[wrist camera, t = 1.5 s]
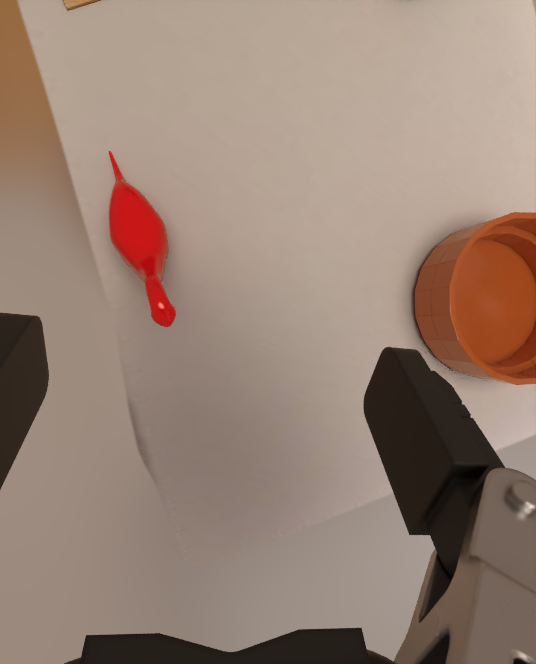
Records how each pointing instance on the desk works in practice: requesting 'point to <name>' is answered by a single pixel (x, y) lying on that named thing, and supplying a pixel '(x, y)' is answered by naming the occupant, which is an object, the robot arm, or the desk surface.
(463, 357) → the terracotta bowl
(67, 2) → the board
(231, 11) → the desk surface
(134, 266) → the dinosaur
